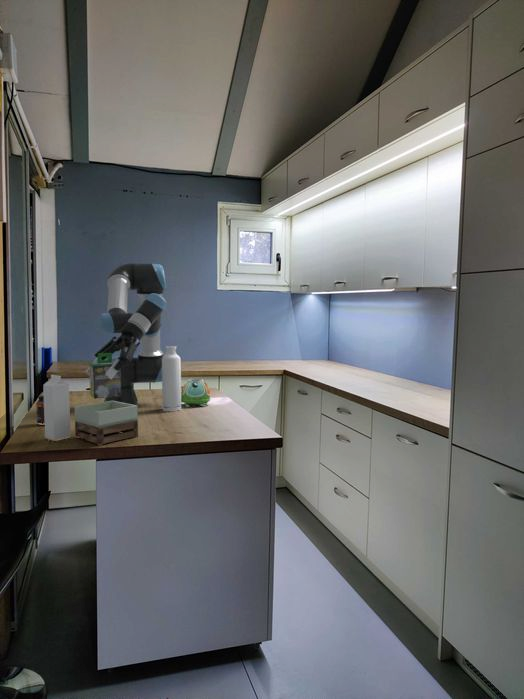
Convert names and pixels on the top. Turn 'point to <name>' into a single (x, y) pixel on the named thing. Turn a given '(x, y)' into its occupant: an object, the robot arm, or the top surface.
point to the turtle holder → (195, 392)
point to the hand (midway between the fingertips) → (98, 375)
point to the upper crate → (106, 413)
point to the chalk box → (104, 378)
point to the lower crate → (106, 432)
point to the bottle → (171, 380)
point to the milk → (56, 408)
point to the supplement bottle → (40, 409)
